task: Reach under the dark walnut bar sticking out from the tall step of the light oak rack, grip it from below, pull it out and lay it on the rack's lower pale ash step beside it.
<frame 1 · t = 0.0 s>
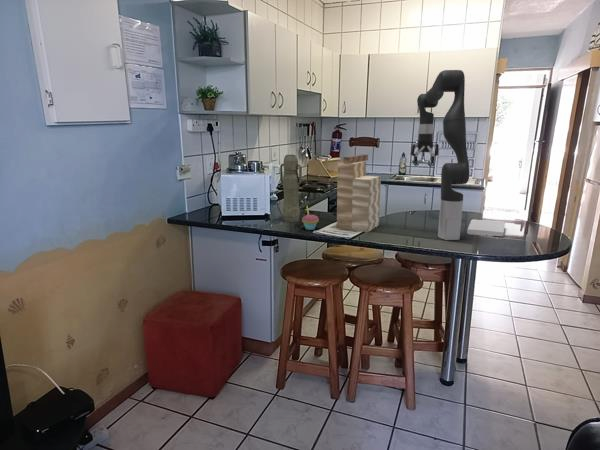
hand: (423, 163, 217), 29 cm above the counter, tool pointing down, fingers open, 8 cm apart
thermos: (291, 220, 217), on the counter
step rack: (358, 226, 201), on the counter
food packaging: (486, 232, 191), on the counter
cupcake: (310, 229, 199), on the counter
walnut bar: (356, 161, 200), point 32 cm above the counter, touching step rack
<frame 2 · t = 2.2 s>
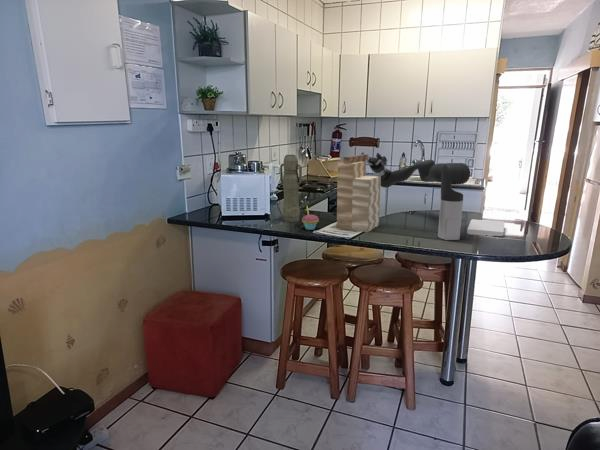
hand: (369, 154, 214), 35 cm above the counter, tool pointing upward, fingers open, 8 cm apart
nothing on the counter moved.
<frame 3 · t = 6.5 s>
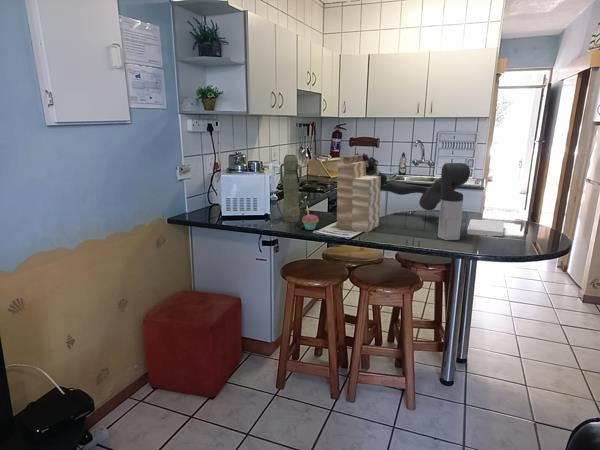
hand: (360, 155, 203), 35 cm above the counter, tool pointing upward, fingers closed on walnut bar, 3 cm apart
walnut bar: (356, 161, 200), point 32 cm above the counter, touching gripper, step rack
everything else where it was.
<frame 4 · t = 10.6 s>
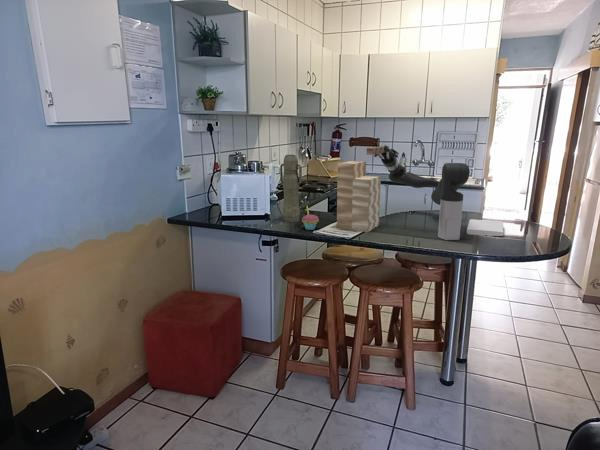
hand: (381, 146, 207), 39 cm above the counter, tool pointing upward, fingers closed on walnut bar, 3 cm apart
walnut bar: (377, 153, 203), point 36 cm above the counter, touching gripper
everything else where it was.
when the fingers open (30 cm above the counter, at t = 14.9 s): walnut bar drops 2 cm, resting on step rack.
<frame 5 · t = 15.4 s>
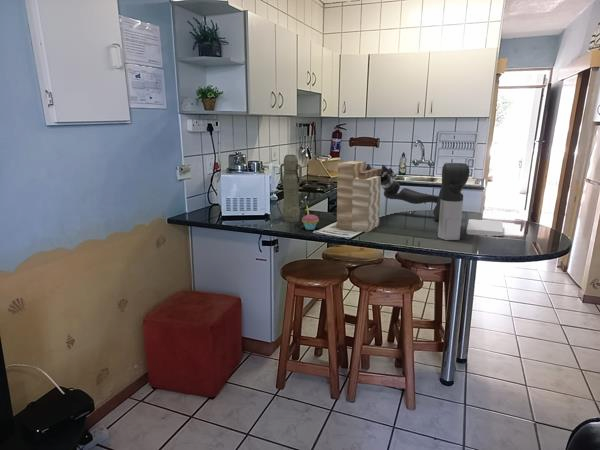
hand: (375, 166, 201), 30 cm above the counter, tool pointing upward, fingers open, 7 cm apart
walnut bar: (370, 176, 197), point 25 cm above the counter, touching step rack
everything else where it was.
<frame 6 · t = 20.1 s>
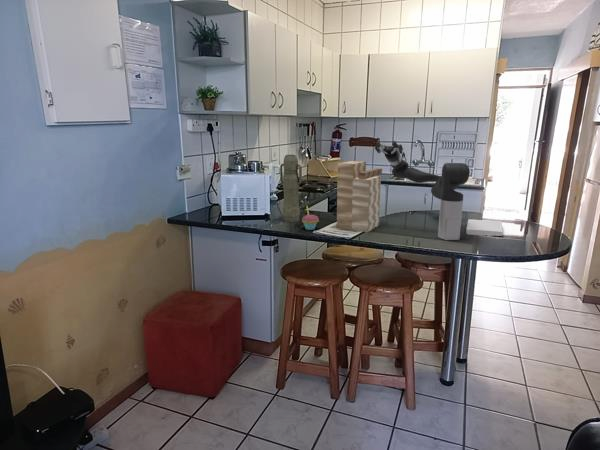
hand: (385, 142, 210), 41 cm above the counter, tool pointing upward, fingers open, 8 cm apart
nothing on the counter moved.
at the end: walnut bar inside the target area on the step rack (0.2 cm from its centre), point 25.0 cm above the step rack's base; walnut bar tilted 0°; the gripper is holding nothing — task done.
